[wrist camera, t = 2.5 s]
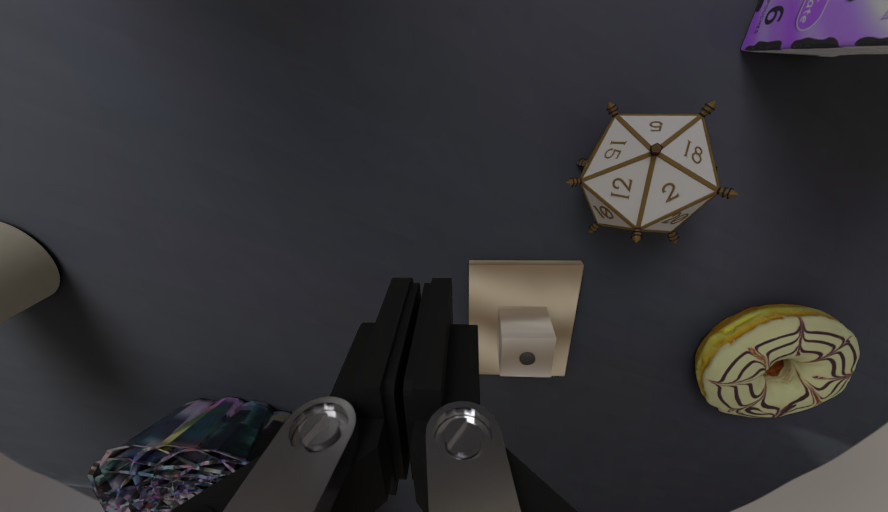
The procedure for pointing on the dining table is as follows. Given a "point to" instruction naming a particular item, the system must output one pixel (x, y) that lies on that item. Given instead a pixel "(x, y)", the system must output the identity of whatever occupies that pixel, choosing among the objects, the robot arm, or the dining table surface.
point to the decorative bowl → (184, 454)
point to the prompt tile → (524, 293)
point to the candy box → (819, 27)
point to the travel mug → (23, 272)
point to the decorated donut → (775, 360)
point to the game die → (650, 172)
